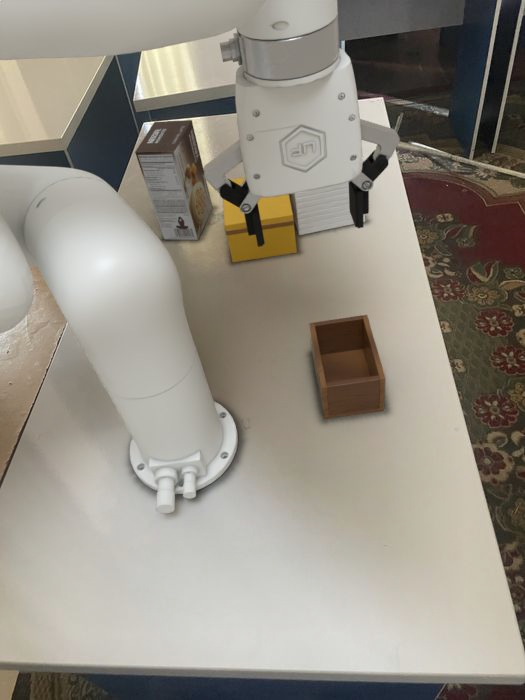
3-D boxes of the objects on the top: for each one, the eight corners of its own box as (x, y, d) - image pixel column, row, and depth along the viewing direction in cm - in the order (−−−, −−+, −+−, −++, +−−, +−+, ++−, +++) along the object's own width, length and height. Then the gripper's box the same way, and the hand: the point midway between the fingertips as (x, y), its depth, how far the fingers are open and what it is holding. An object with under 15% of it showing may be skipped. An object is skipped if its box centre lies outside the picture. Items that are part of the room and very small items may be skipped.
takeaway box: (297, 253, 87) (293, 214, 82) (232, 262, 87) (224, 225, 82) (288, 207, 95) (284, 170, 90) (229, 217, 95) (221, 180, 90)
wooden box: (384, 410, 66) (385, 378, 61) (324, 419, 66) (321, 387, 62) (366, 347, 73) (367, 314, 68) (312, 355, 73) (309, 322, 68)
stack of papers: (365, 221, 90) (365, 160, 82) (299, 235, 90) (293, 175, 82) (319, 128, 111) (316, 72, 103) (266, 139, 111) (258, 84, 103)
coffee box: (179, 207, 99) (154, 119, 87) (213, 207, 98) (193, 118, 86) (162, 240, 94) (133, 151, 82) (199, 241, 92) (175, 150, 80)
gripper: (178, 89, 41) (224, 269, 54) (416, 42, 40) (405, 235, 53) (177, 49, 46) (219, 222, 59) (389, 7, 45) (385, 191, 58)
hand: (308, 228), depth 56 cm, fingers open, 9 cm apart
